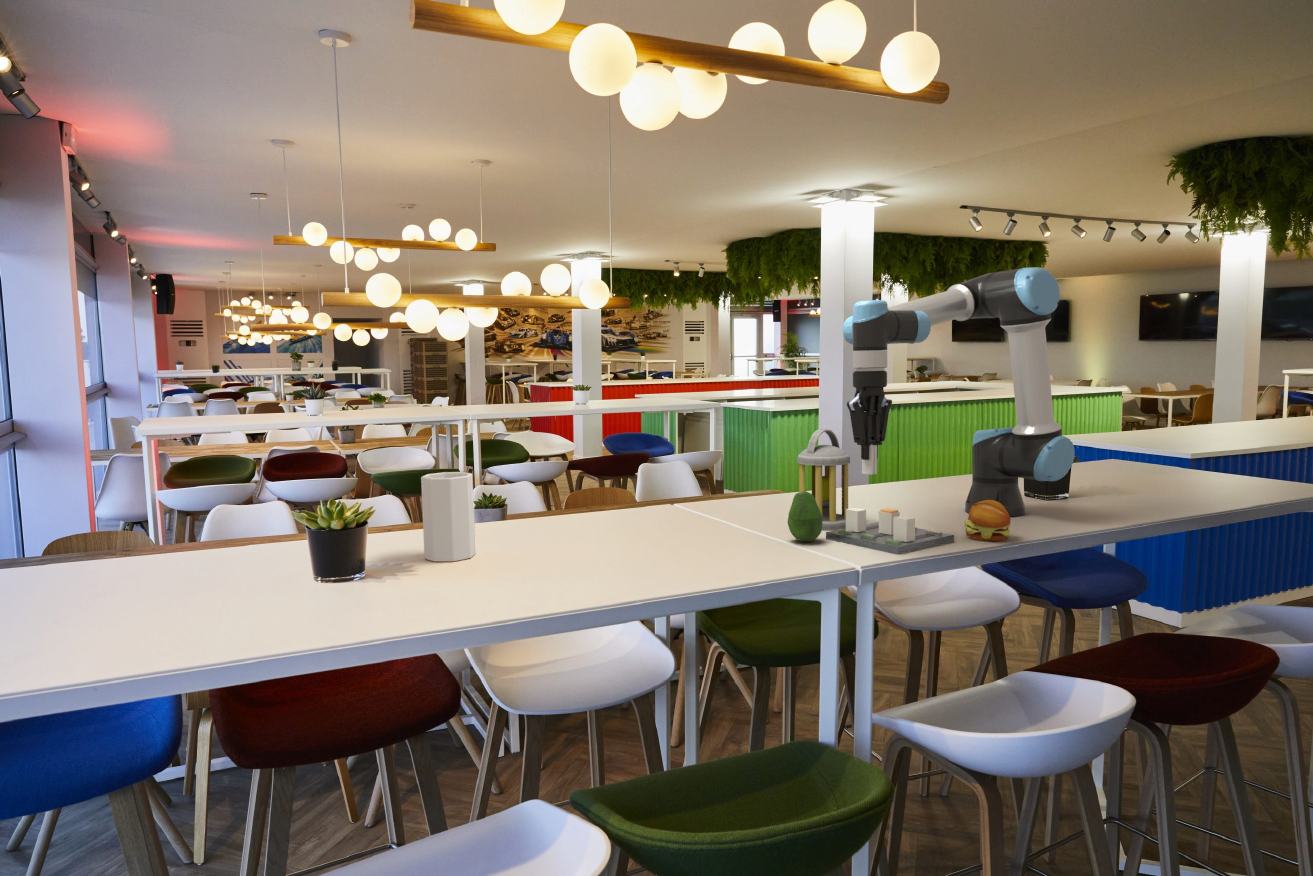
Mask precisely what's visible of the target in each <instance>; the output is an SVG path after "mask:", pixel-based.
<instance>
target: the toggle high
mask: <svg viewBox="0 0 1313 876" xmlns="http://www.w3.org/2000/svg"><path fill="white" fill-rule="evenodd" d="M915 527H916V517H911V516H905V515H900V516H899V517H894V518H893V539H894V540H899V541H904V542H909V541H913V540H915Z"/></svg>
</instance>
